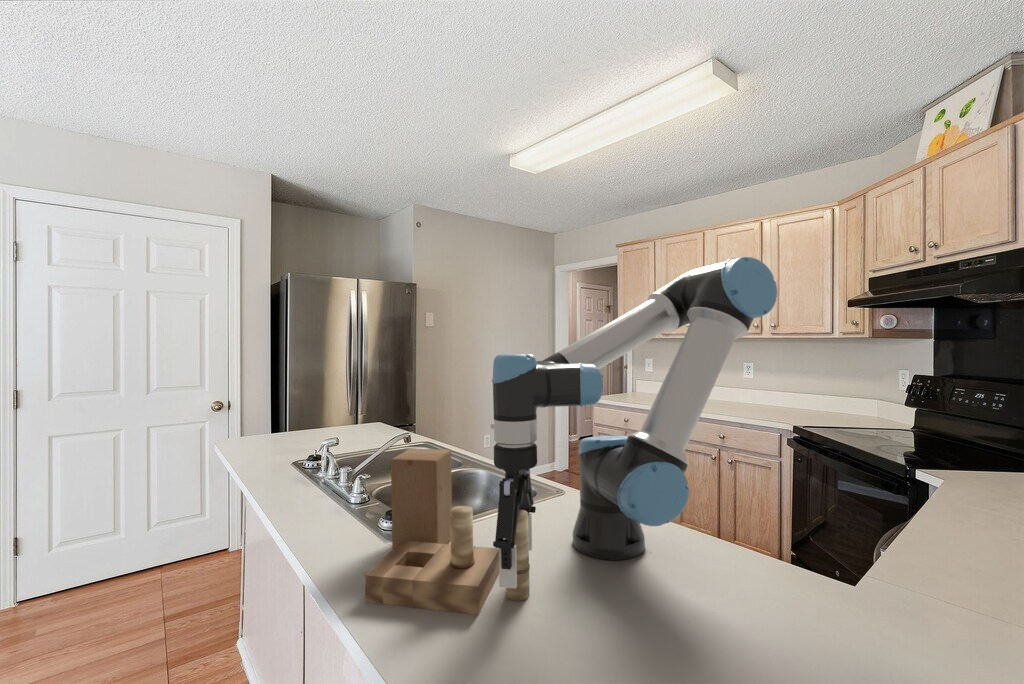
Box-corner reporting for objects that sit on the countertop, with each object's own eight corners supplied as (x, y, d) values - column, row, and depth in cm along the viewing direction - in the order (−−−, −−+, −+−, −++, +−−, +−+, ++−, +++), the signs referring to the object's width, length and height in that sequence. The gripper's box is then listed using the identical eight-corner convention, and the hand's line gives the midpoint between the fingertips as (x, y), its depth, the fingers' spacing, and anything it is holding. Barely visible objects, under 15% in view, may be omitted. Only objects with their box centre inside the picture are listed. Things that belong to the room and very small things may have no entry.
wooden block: (437, 558, 93) (435, 460, 93) (391, 555, 95) (390, 458, 95) (453, 538, 103) (451, 449, 103) (411, 535, 105) (410, 448, 105)
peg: (532, 589, 80) (530, 509, 80) (527, 602, 76) (526, 518, 76) (508, 587, 81) (507, 508, 81) (503, 600, 77) (501, 517, 77)
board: (499, 572, 87) (498, 498, 87) (478, 614, 73) (476, 527, 73) (402, 563, 91) (401, 492, 91) (365, 601, 77) (364, 519, 78)
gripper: (510, 429, 92) (511, 535, 92) (472, 459, 68) (474, 603, 67) (547, 430, 90) (548, 538, 90) (522, 461, 66) (524, 609, 66)
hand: (517, 566), depth 79 cm, fingers open, 13 cm apart
